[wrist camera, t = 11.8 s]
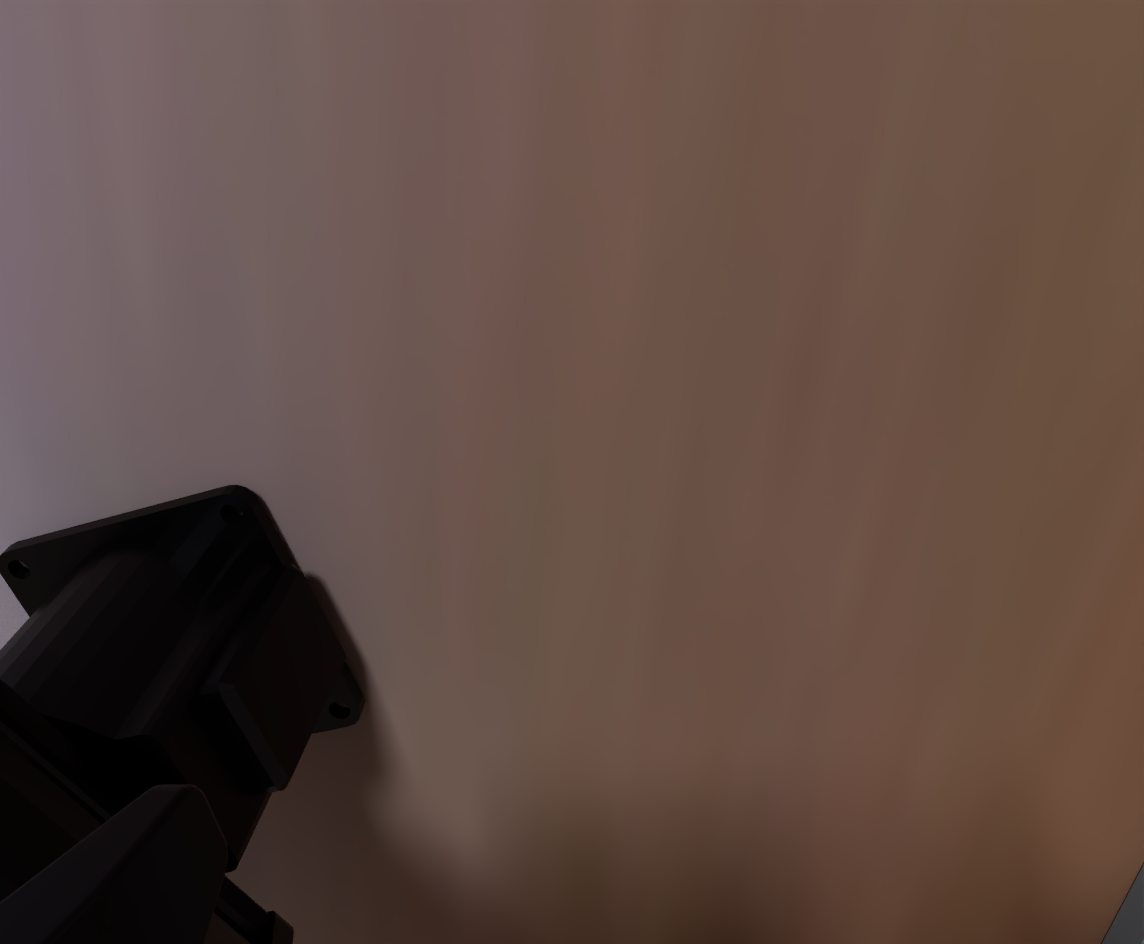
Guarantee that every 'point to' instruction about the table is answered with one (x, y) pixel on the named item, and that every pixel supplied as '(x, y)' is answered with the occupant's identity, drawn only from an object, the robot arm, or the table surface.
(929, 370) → the table surface
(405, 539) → the table surface
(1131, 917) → the dock
